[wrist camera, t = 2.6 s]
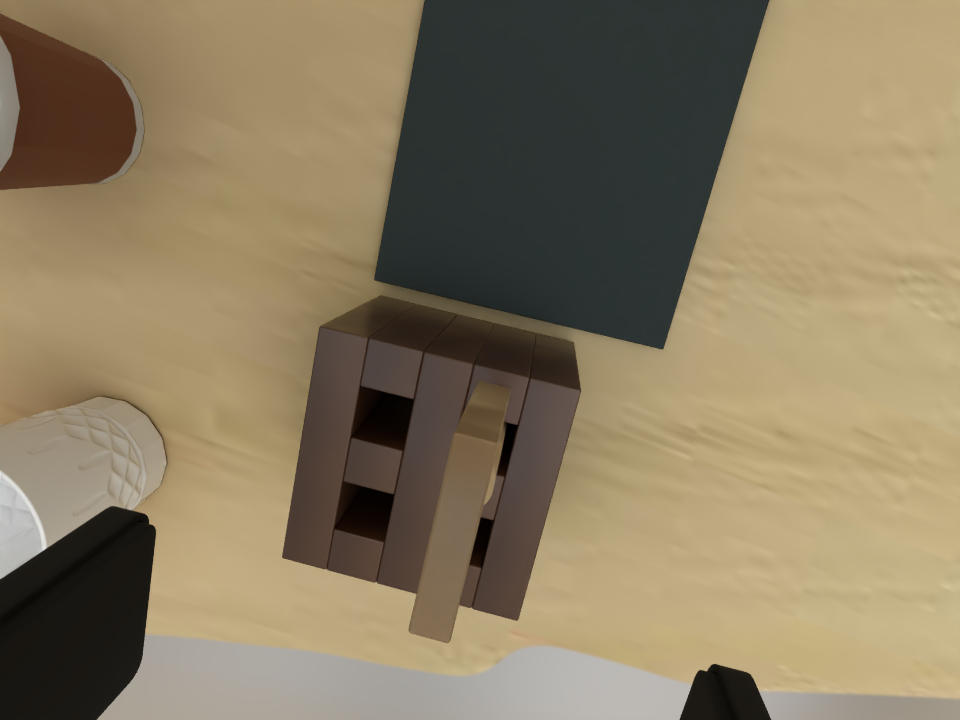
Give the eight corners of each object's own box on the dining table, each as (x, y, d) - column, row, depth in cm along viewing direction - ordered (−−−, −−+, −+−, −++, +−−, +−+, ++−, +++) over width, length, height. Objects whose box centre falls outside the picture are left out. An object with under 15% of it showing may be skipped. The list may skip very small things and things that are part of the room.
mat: (827, -203, 27) (833, -211, 26) (661, 347, 33) (663, 349, 32) (476, -269, 28) (475, -279, 27) (377, 279, 34) (373, 280, 33)
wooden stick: (530, 323, 33) (508, 445, 14) (508, 414, 34) (457, 647, 15) (504, 317, 33) (444, 429, 14) (482, 407, 34) (398, 631, 15)
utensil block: (574, 342, 33) (581, 390, 24) (526, 520, 36) (517, 621, 27) (379, 295, 34) (319, 325, 25) (346, 474, 36) (281, 558, 28)
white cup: (200, 438, 37) (74, 520, 27) (141, 537, 39) (4, 647, 29) (83, 359, 36) (-87, 414, 27) (30, 463, 38) (-146, 550, 29)
